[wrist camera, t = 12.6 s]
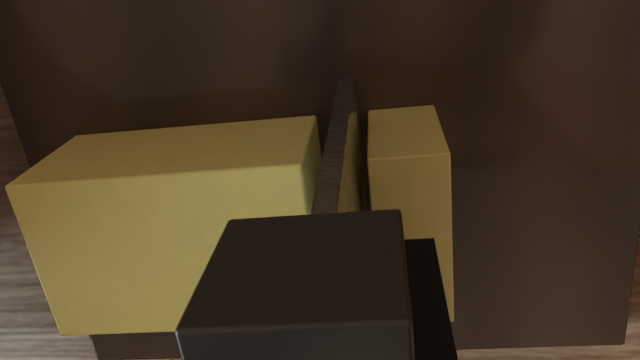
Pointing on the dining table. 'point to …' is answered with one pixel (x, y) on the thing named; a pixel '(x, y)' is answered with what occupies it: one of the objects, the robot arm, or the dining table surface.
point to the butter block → (153, 213)
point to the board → (386, 93)
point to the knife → (308, 273)
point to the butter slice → (414, 178)
